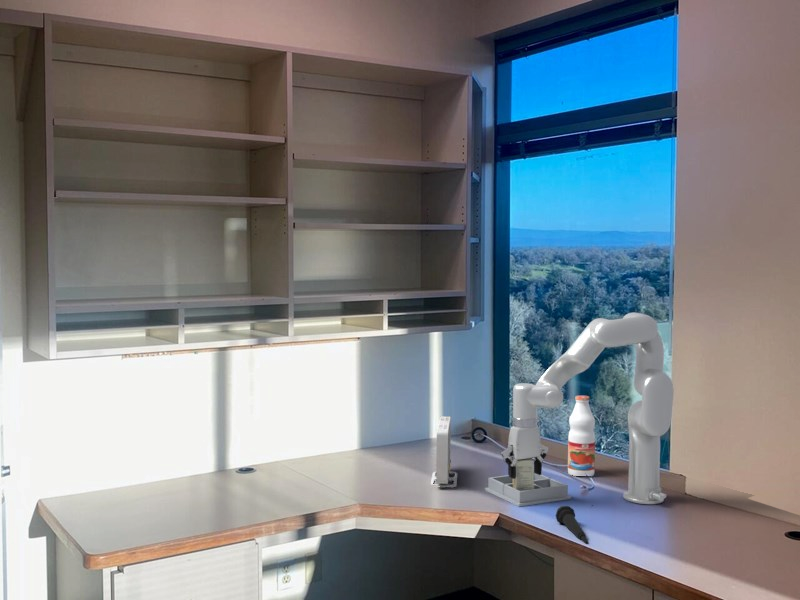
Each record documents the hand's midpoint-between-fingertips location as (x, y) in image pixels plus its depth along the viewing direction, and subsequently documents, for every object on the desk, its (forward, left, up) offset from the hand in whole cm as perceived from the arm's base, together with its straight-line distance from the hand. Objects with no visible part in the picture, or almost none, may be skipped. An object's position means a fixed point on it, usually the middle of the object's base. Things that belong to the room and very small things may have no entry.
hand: (525, 475), depth 266 cm
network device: (+32, +12, -8) cm, 35 cm away
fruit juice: (+18, -36, -8) cm, 41 cm away
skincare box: (0, +1, -7) cm, 7 cm away
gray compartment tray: (+5, -4, -8) cm, 10 cm away
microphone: (-31, +6, -8) cm, 33 cm away
